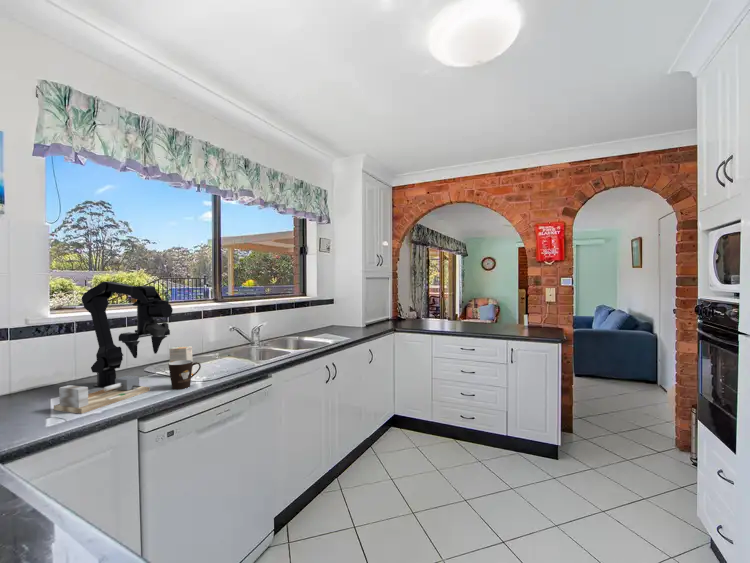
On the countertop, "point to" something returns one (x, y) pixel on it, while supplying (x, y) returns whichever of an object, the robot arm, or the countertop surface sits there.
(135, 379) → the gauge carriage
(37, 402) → the countertop surface
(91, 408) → the bench
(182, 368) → the coffee mug
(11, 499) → the countertop surface
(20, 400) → the countertop surface
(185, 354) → the supplement box
